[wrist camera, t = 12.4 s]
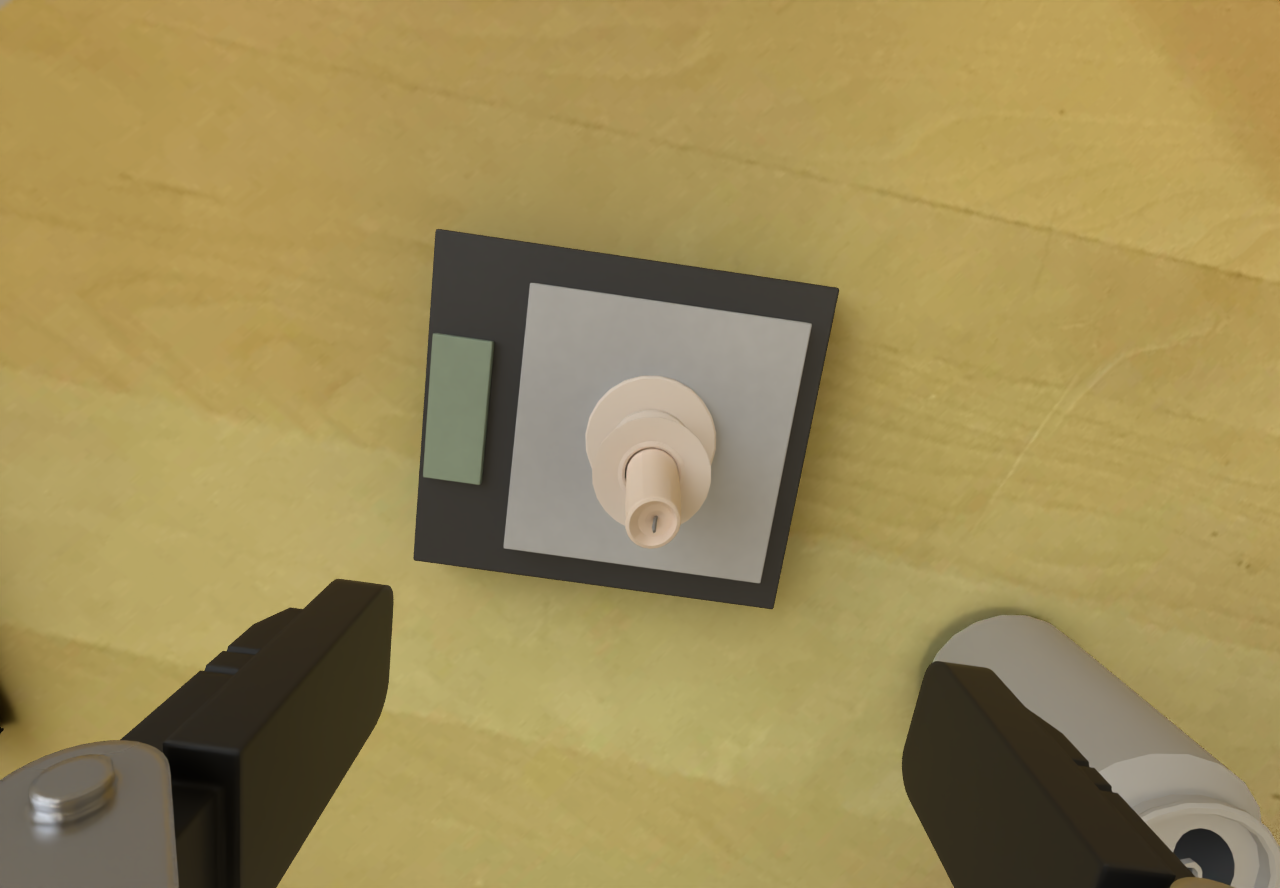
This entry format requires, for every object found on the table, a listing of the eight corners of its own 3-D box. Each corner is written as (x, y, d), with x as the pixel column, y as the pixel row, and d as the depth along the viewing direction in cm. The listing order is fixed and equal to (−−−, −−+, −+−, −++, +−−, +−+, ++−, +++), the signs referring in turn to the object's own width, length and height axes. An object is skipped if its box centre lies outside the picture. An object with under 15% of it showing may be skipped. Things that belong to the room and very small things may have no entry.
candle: (736, 403, 26) (792, 475, 16) (685, 518, 27) (708, 654, 17) (613, 354, 26) (592, 397, 16) (567, 473, 27) (519, 585, 17)
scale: (430, 540, 31) (406, 568, 28) (452, 233, 28) (428, 226, 25) (764, 586, 31) (777, 618, 28) (824, 288, 28) (846, 288, 25)
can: (1091, 705, 33) (1338, 938, 21) (948, 763, 33) (1110, 1016, 22) (1042, 580, 31) (1279, 755, 19) (893, 644, 32) (1035, 847, 20)
